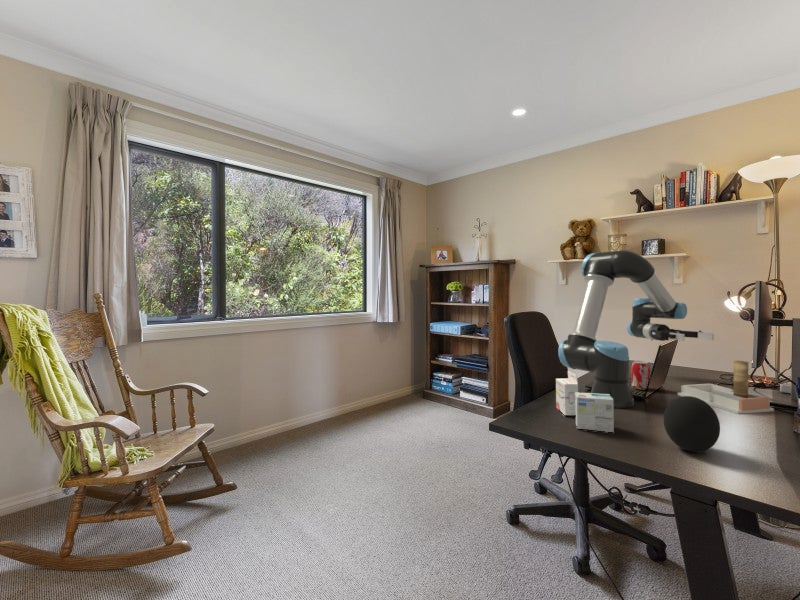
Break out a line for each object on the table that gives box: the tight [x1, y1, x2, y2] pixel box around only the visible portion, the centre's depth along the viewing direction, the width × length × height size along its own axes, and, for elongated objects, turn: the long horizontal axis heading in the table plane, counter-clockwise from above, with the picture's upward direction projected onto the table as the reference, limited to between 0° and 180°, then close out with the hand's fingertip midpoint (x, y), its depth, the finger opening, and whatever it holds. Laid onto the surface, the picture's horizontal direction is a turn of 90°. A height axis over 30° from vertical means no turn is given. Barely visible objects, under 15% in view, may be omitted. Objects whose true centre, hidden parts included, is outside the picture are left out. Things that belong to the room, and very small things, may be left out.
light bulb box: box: [575, 391, 615, 434], centre depth 122 cm, size 11×7×11 cm, turn 71°
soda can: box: [630, 360, 651, 388], centre depth 165 cm, size 7×7×12 cm
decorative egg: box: [663, 396, 721, 453], centre depth 104 cm, size 12×12×15 cm
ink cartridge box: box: [555, 370, 579, 416], centre depth 137 cm, size 9×5×15 cm, turn 179°
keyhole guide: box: [677, 383, 775, 415], centre depth 145 cm, size 15×24×5 cm, turn 8°
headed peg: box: [733, 360, 749, 398], centre depth 138 cm, size 8×8×16 cm
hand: (698, 337), depth 155 cm, fingers open, 13 cm apart
